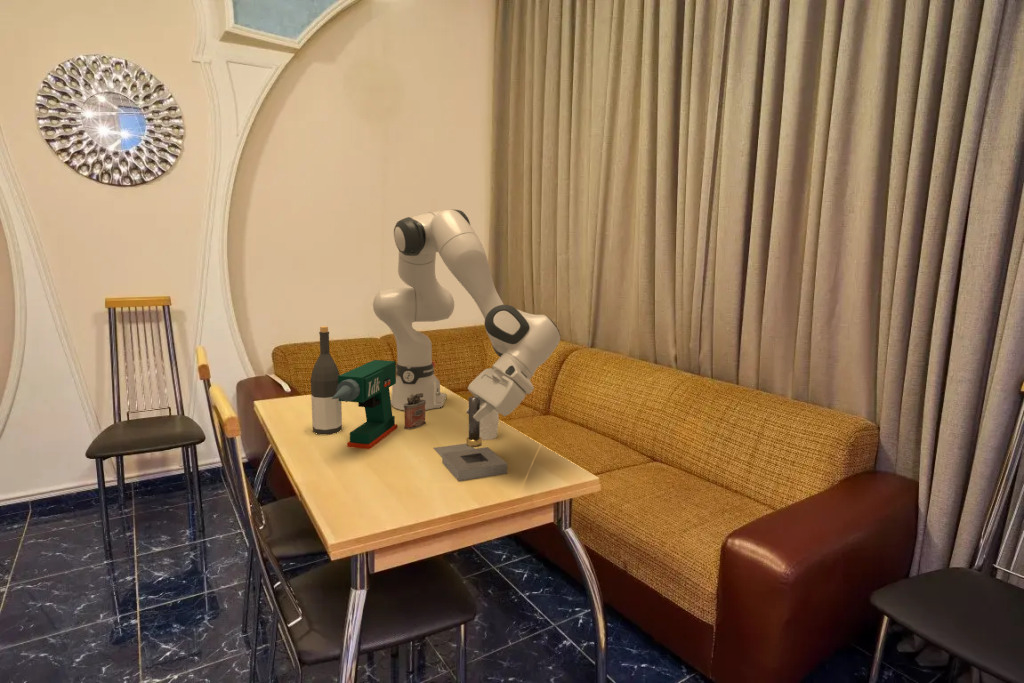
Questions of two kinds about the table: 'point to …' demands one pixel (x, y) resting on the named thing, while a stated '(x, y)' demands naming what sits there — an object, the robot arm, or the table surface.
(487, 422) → the white cup
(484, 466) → the grey square frame
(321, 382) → the wine bottle
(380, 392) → the power tool
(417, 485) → the table surface
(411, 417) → the lighter
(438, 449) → the grey square plate
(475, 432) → the dark grey peg
